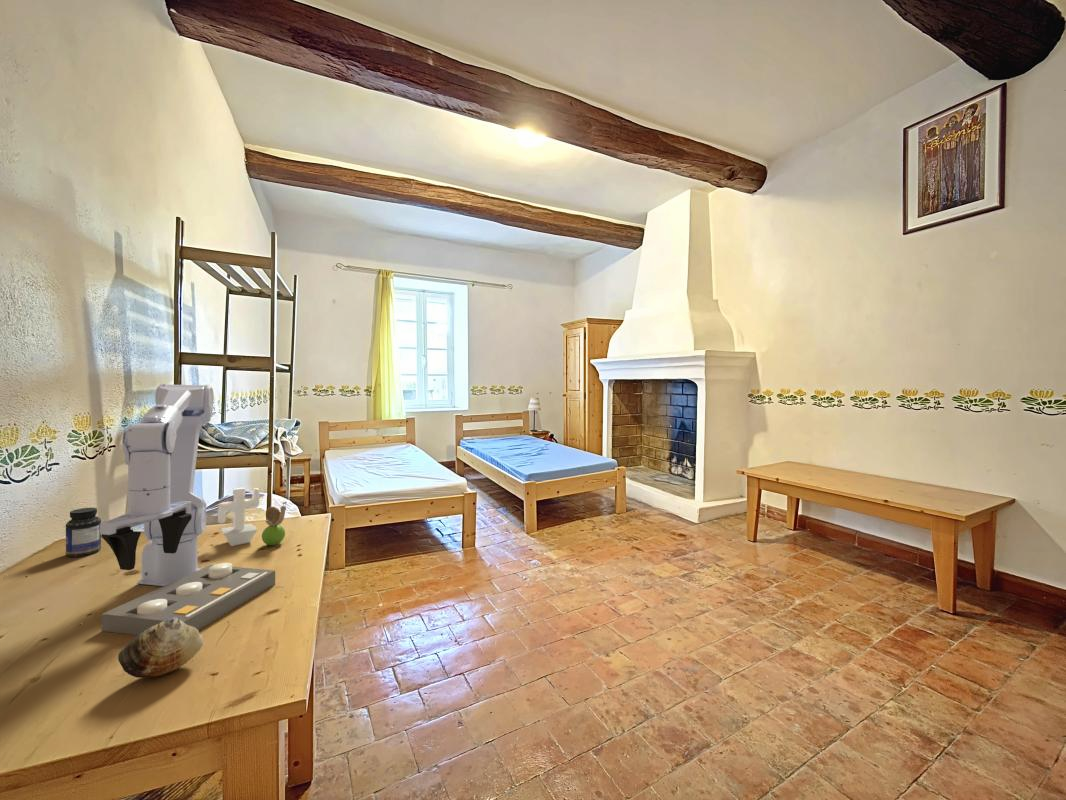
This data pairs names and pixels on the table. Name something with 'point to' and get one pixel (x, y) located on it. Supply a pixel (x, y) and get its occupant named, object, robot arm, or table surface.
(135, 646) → the seashell
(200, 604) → the switch console
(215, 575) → the button
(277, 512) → the snail figurine
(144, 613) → the button
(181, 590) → the button middle
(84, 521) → the pill bottle
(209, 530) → the table surface
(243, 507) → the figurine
